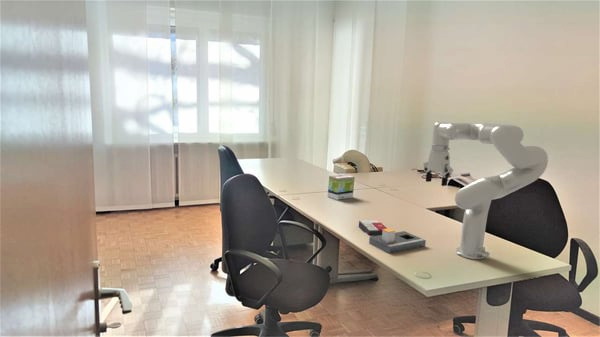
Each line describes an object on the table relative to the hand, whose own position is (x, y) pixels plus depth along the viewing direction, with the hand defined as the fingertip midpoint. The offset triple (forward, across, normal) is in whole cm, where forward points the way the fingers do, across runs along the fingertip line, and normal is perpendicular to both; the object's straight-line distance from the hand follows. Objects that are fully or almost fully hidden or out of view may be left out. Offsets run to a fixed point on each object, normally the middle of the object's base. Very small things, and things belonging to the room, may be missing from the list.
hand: (436, 183), depth 203 cm
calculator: (+29, +21, +18) cm, 40 cm away
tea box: (+29, +86, -7) cm, 91 cm away
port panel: (+28, 0, +22) cm, 36 cm away
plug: (+28, 0, +28) cm, 39 cm away
